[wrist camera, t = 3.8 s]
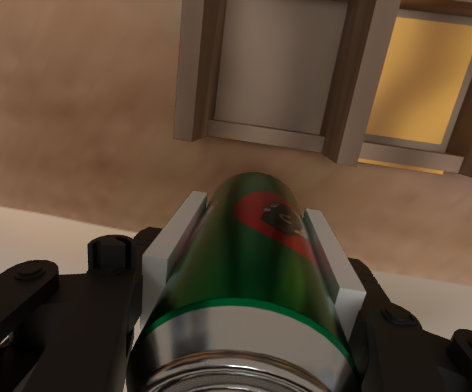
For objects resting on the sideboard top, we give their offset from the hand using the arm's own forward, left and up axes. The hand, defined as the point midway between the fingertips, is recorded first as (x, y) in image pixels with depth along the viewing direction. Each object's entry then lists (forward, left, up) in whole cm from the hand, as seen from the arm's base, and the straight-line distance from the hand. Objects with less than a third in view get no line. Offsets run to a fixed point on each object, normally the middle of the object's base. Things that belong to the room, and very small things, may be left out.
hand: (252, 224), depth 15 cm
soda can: (0, 0, -2) cm, 2 cm away
